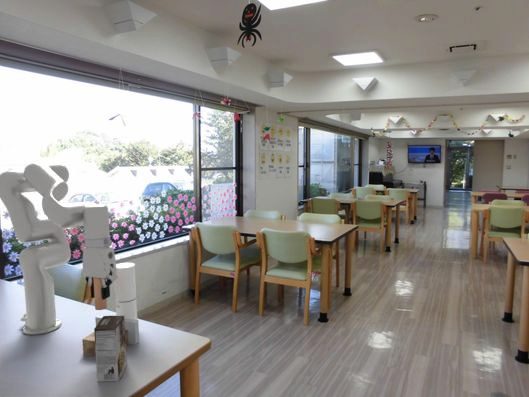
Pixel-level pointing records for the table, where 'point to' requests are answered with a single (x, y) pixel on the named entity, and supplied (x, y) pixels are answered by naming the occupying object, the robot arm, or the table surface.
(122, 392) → the table surface
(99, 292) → the peach rounded capsule
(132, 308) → the cylindrical container
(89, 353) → the block
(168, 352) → the table surface
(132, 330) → the backstop wall
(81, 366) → the table surface
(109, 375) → the coffee box
